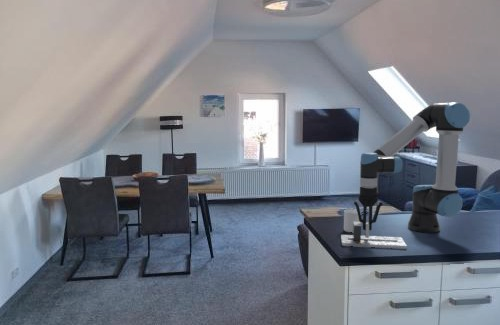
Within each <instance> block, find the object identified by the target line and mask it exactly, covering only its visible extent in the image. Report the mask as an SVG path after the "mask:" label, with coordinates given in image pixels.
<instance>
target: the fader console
mask: <svg viewBox="0 0 500 325" xmlns="http://www.w3.org/2000/svg"><path fill="white" fill-rule="evenodd" d="M340 241H341V242H340V243H341V246H342V247H350V246H353V247H354V248H357V247H358V248H371V247H375V248H374V249H391V248H392V250H394V249H396V250H407V249H408V245H407V244H406V243H405V240H404V239H403V238H402V237H401V236H399V237H398V236H380V235H379V236H378V235H369V238H366V237H365V235H361V240H354V238H353V234H340ZM353 247H352V248H353Z"/></svg>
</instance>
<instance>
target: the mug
mask: <svg viewBox="0 0 500 325" xmlns="http://www.w3.org/2000/svg"><path fill="white" fill-rule="evenodd" d="M360 213H361V214H362V212H361V210H360ZM353 222H360V221H359V217H358V213H357V209H351V208H350V209H349V208H348V209H344V211H343V231H344V232H346V233H350V232H352V234H353ZM360 223H361V226H363V223H362V222H360Z"/></svg>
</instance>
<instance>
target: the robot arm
mask: <svg viewBox="0 0 500 325" xmlns="http://www.w3.org/2000/svg"><path fill="white" fill-rule="evenodd" d="M470 118H471V114H470V111H469V108H468V107H467V106H466V105H465V104H463V103H461V102H455V101H452V102H451V101H449V102H436V103H432V104H430V105H428V106H426V107H425V108H424V109H422V110H420V111H419V112H418V113H417V114H415V115H414V116H413V117H412V120H411V121H410V122H409V123H407V125H405V126H404V127H403V128H402V129H400V130H399V131H397V132H396V133H395V134H394V135H393V136H391V137H390V138H389V139H388V140H387V141H385V142H384V143H383V144H381V145H380V146H379V147H377V149H375V150H374V151H372V152H363V153H361V154H360V161H359V163H360V174H359V175H360V176H359V186H360V187H359V197H358V199H356V200H354V201H353V204H354V205H355V208H356V209H355V210H357V213H358V217H359V221H360V222H361V223H362V230H363V231H364V236H365V237H366V238H369V236H370V231H372V228H373V227H372V226H373V225H372V224H374V223H377V220H378V216H379V212H380V209H381V207H382V206H383V201H381V200H379V199H378V187H377V186H378V174H396V173H400V172H401V171H402V169H403V160H402V159H401V158H400V157H399V156H395V155H397V153H399V152H400V151H401V150H403V149H404V148H405V147H406V146H407V145H408V144H410V143H411V142H412V141H414V139H416V138H417V137H418V136H420V135H421V134H422V133H426V132H428V131H429V130H431V129H432V128H435V131H436V133H437V134H438V146H437V159H436V169H435V170H436V172H435V173H436V174H435V183H434V184H418V185H415V186H413V190H412V206H411V207H412V209H411V210H412V212H411V215H410V218H409V221H408V223H407V228H408V229H409V230H411V231H414V232H419V233H426V234H427V233H437V232H439V231H440V229H441V228H440V223H439V219H438V216H437V215H439V216H441V217H446V218H447V217H448V218H451V217H455V216H456V215H458V214H459V213H460V212H461V210H462V207H463V205H464V204H463V198H462V196H461V195H460V194H459V188H458V187H457V185H456V177H457V165H458V164H457V162H458V152H459V143H460V142H459V141H460V140H459V139H460V135H461V134H462V133H464V128H465V127H466V126H467V125H468V124H469V123H470V120H471V119H470ZM360 204H361V205H362V207H363V208H362V212H361V213H360V211H361V210H360V206H359V205H360ZM375 205H376V208H375V210H374V215H373V207H374V206H375ZM367 209H368V221H367Z"/></svg>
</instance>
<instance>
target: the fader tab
mask: <svg viewBox="0 0 500 325" xmlns="http://www.w3.org/2000/svg"><path fill="white" fill-rule="evenodd" d="M361 223H362V222H361ZM361 223H360V222H353V233H352V235H353V238H354V240H361V236H362V225H361Z"/></svg>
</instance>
